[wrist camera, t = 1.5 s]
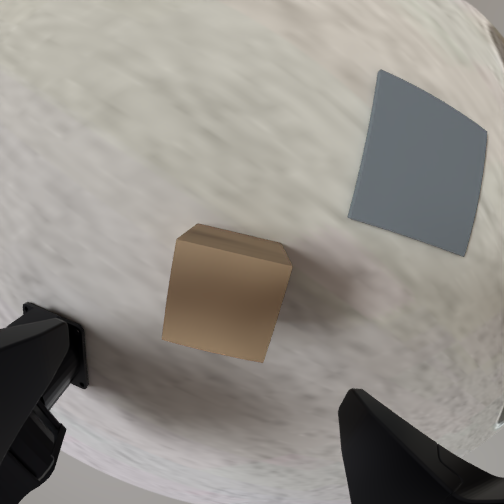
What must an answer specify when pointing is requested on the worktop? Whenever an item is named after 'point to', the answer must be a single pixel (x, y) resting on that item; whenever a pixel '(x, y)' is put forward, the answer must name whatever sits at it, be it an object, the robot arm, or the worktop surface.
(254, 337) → the walnut cube
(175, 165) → the worktop surface
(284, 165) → the worktop surface
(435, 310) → the worktop surface
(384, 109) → the slate pad
